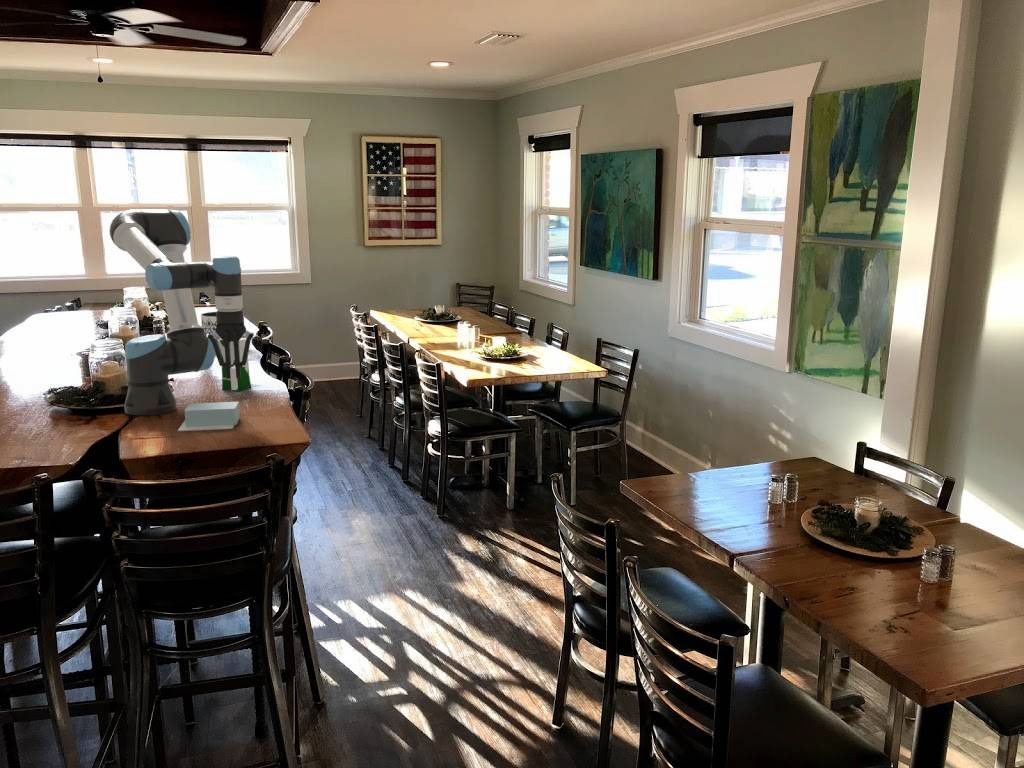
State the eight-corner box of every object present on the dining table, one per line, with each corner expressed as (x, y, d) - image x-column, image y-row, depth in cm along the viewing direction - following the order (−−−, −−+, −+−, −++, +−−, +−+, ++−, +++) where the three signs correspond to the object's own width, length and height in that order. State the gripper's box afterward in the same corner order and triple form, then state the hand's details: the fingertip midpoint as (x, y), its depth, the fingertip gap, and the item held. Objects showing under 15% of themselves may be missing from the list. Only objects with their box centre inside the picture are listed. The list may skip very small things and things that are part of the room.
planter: (237, 353, 356) (235, 316, 353) (197, 353, 356) (194, 316, 353) (251, 346, 374) (249, 311, 370) (212, 346, 374) (209, 311, 371)
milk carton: (218, 390, 284) (214, 334, 280) (236, 385, 292) (233, 330, 288) (237, 392, 280) (233, 336, 276) (255, 387, 288) (252, 332, 284)
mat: (177, 431, 231) (177, 429, 231) (186, 419, 245) (186, 417, 245) (232, 428, 235) (232, 427, 234) (238, 416, 248) (238, 415, 248)
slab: (236, 425, 237) (185, 427, 234) (239, 417, 246) (191, 419, 243) (235, 408, 236) (184, 410, 233) (238, 401, 245) (189, 403, 242)
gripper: (203, 311, 229) (209, 392, 234) (251, 311, 232) (256, 390, 237) (207, 308, 236) (213, 387, 241) (254, 308, 239) (258, 385, 244)
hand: (234, 388), depth 239 cm, fingers closed
